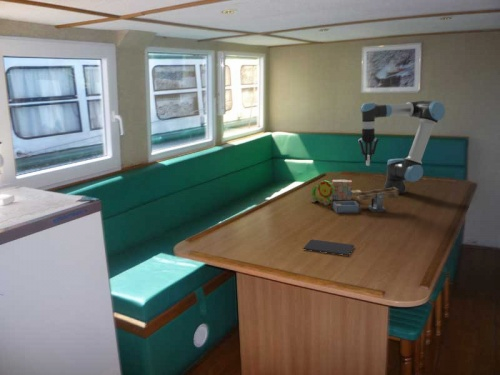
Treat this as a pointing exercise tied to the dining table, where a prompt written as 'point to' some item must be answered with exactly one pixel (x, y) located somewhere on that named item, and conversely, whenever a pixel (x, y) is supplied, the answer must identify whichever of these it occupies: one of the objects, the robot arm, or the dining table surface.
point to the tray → (346, 207)
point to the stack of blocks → (341, 190)
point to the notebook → (329, 247)
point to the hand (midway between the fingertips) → (367, 165)
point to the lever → (366, 195)
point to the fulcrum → (377, 203)
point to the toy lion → (323, 192)
